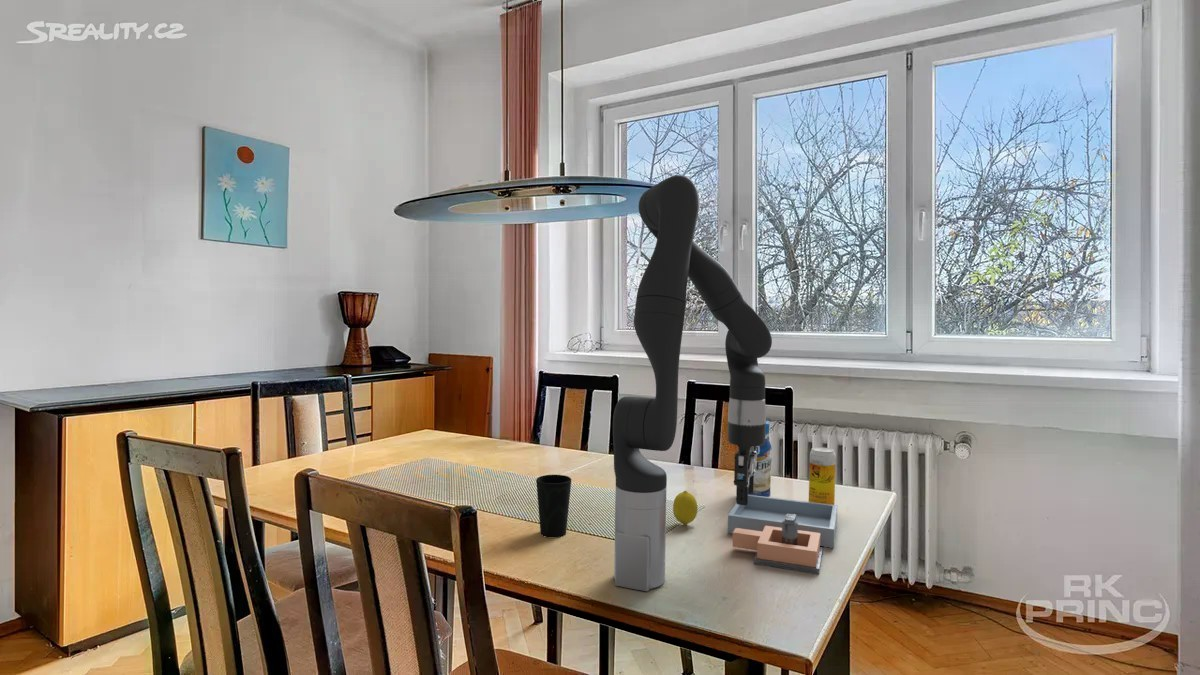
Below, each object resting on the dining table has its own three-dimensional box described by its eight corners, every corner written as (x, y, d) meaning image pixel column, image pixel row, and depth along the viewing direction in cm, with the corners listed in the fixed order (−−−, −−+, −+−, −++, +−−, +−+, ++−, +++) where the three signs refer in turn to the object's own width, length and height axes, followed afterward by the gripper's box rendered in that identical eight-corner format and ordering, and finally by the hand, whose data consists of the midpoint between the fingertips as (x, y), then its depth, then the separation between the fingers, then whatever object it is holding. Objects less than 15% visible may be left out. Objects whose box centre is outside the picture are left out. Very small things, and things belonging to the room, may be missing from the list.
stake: (818, 574, 120) (820, 532, 119) (753, 563, 124) (754, 523, 124) (822, 551, 131) (823, 513, 130) (762, 543, 135) (763, 505, 135)
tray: (833, 548, 133) (834, 529, 133) (727, 533, 141) (728, 515, 141) (836, 522, 149) (837, 505, 149) (742, 509, 158) (742, 493, 158)
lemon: (696, 530, 143) (697, 495, 142) (671, 528, 144) (672, 493, 143) (697, 522, 148) (698, 488, 148) (673, 520, 149) (674, 486, 149)
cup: (542, 541, 135) (542, 485, 134) (531, 529, 142) (531, 476, 141) (576, 536, 138) (576, 481, 137) (563, 525, 145) (564, 473, 144)
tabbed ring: (816, 567, 120) (816, 551, 120) (728, 553, 126) (729, 538, 126) (820, 547, 130) (820, 533, 130) (738, 535, 137) (739, 521, 137)
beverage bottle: (748, 490, 175) (750, 417, 174) (776, 496, 169) (778, 421, 169) (732, 496, 169) (733, 421, 168) (760, 503, 163) (762, 425, 162)
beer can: (804, 509, 159) (805, 449, 158) (814, 503, 163) (816, 445, 163) (827, 514, 155) (829, 453, 154) (838, 509, 159) (839, 449, 159)
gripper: (761, 428, 122) (759, 511, 123) (769, 415, 135) (767, 490, 136) (722, 425, 125) (720, 506, 126) (733, 413, 138) (732, 486, 139)
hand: (745, 498), depth 131 cm, fingers open, 8 cm apart
